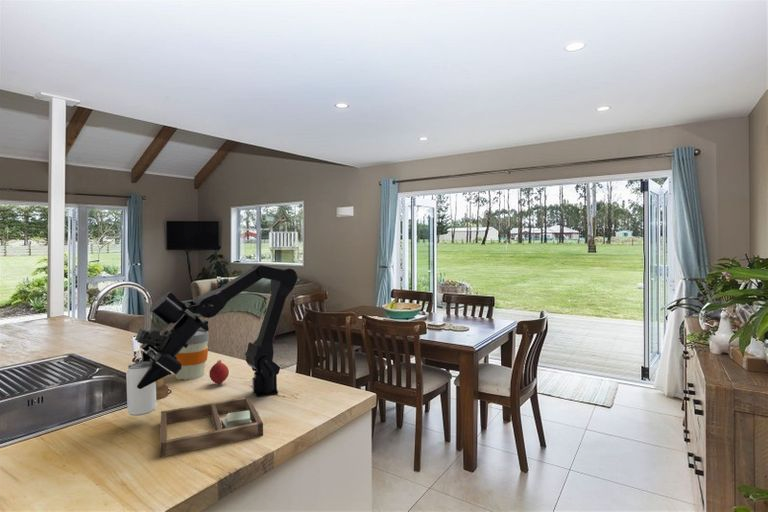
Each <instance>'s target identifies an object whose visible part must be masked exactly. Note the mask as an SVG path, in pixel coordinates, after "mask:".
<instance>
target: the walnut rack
mask: <svg viewBox="0 0 768 512" xmlns="http://www.w3.org/2000/svg"><path fill="white" fill-rule="evenodd" d="M248 410H250V420H251V421H252V423H250V424H245V425H240V426H235V427H230V428H225V429H222V425H221V419H220V416H219V415H222V414H228V413H233V412H241V411H248ZM207 417H211V420H212V424H213V427H214V430H210V431H206V432H205V431H204V432H201V433H196V434H190V435H185V436H180V437H175V438H170V439H169V438H168V435H167V434H168V433H167V431H168V429H167V428H168V427H167V425H168V424H172V423H179V422H183V421H188V420H189V421H190V420H195V419H202V418H207ZM262 420H263V419H261V417H260V414H259V413H258V411H257V409H256V406H255V405H254V403H253V401H252V399H251V397H250V396H246V397H241V398H240V397H238V398H233V399H228V400H221V401H217V402H210V403H204V404H198V405H192V406H186V407H181V408H175V409H168V410H162V411H160V438H159V441H160V442H159V443H160V444H159V447H160V448H159V449H160V451H159V453H160V457H161V458H162V457H167V456H172V455H176V454H180V453H185V452H190V451H191V452H192V451H195V450H201V449H205V448H209V447H214V446H219V445H224V444H229V443H233V442H238V441H241V440H242V441H243V440H248V439H252V438H256V437H261V436H263V435H264V423H263V421H262Z"/></svg>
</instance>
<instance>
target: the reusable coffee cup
mask: <svg viewBox="0 0 768 512" xmlns="http://www.w3.org/2000/svg"><path fill="white" fill-rule="evenodd" d="M209 340H210V337H209V330H208V331H205V330H203V329H202V328H200V329H199V330H198V331H197V332H196V334H195V335H194V336H193V337H192V338H191V339H190V340H189V342H188V343H187V345H188V347H187V348H184V347H183V348H182V350H181V351H180V352H179V353H178V354H177V355H176V356H175V357H176V358H177V359H176V360H177V361H179V362H180V363H181V367H182V369H181V370H180V371H179V372H178V373H177V374H174V375H175V378H176V379H177V380H180V379H184V380H183V381H186V380H187V379H190V380H195V379H198V377H199V378H201V377H203V376H204V375H205V370H206V362H207V360H208V354H209V346H208V342H209ZM194 378H195V379H194Z"/></svg>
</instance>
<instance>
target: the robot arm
mask: <svg viewBox="0 0 768 512" xmlns="http://www.w3.org/2000/svg"><path fill="white" fill-rule="evenodd" d="M298 277H299V276H298V274H297V272H296V271H295V269H293V268H288V267H280V266H279V267H277V268H275V267H272V266H271V267H270V266H267V265H265V264H261V263H259V264H258V263H256V264H254V265H252V267H251V268H250V269H248V270H246V271H245V272H243V273H241V274H239V276H237V277H235V278H234V279H232V280H231V281H229V282H227V283H226V284H224V285H223V286H221V287H219V288H217V289H213V290H210V291H207V292H204V293H202V294H200V295H198V296H196V297H194V299H193V300H190V301H189V300H188V301H185V302H183V301H181V300H180V299H179V298H178V297H177V296H176V295H175V294H174V293H173V292H171V291H168V292H166V294H164V295H162V296H161V297H160V298H159V299H156V300H155V301H154V303H152V305H151V306H150V307H149V313H151V314H153V315H154V316H155V317H156V318H158V319H159V320H160V321H162V322H163V323H165V324H166V325H169V324H174V325H173V326H172V327H171V328H170V329H169V330H168V329H166V330H163V332H162V333H161V332H160V331H159V330H156V329H153V328H152V329H151V330H150V329H146V328H142V327H140V328H139V329H138V332H137V334H136V336H135V339H134V340H135V341H137V343H139V344H141V345H140V348H141V349H142V350H140V354H141V355H140V356H141V361H140V362H150V368H149V369H148V371H147V372H146V374H145V375H144V376H143V378H142V379H141V381H140V382H139V384H138V385H137V388H139V389H142V388H144V387H146V386H148V385H149V384H151V383H153V382H155V381H157V380H159V379H161V378H163V379H164V378H165V377H167V376H171V375H172V374H174V375H175V374H177V373H178V372H179V371H180V370H181V369H182V367H181V363H180V362H179V361H177V360H176V359H177V358H176V357H175V356H176V355H177V354H178V353H179V352H180V351H181V350H182V348H183V347H184V348H187V347H188V345H187V343H188V342H189V340H190V339H191V338H192V337H193V336H194V335H195V334H196V332H197V331H198V330H199V329H203V330H205V331H208V332H209V321H208V320H206V319H210V318H213V317H215V316H217V314H219V313H220V312H221V311H222V310H223V309H224V308H225V307H226V305H227V304H228V303H229V302H230V301H231V299H234V298H235V297H236V296H238V295H239V294H241V293H242V292H244V291H245V290H247V289H248V288H250V287H251V286H253V285H254V284H256V283H257V282H259V281H260V280H262V279H266V280H269V281H270V284H269V285H270V291H271V294H270V296H269V300H268V302H267V303H268V304H267V306H266V307H267V308H266V309H265V313H264V316H263V319H262V323H261V326H260V329H259V332H258V335H257V338H256V340H255V341H254V342H251V341H249V342H248V345H247V350H246V351H245V353H244V356H245V362H246V363H247V365H248V366H249V367H250V368H251V370H252V371H253V372H254V373H253V377H252V379H251V381H252V383H251V384H252V385H251V386H252V393H253V394H255V397H257V398H258V397H264V396H269V395H270V396H271V395H276V394H279V390H278V386H277V385H278V384H277V383H278V382H277V381H278V380H277V379H278V378H277V375H278V374H279V373H280V370H281V367H280V366H279V365H278V364H277V363H276V362H274V361H273V359H274V354H275V353H274V351H275V350H274V339H275V335H276V333H277V329H278V326H279V323H280V318H281V316H282V313H283V309H284V306H285V303H286V300H287V297H288V296H289V295H290V294H291V293H292V292H293V290H294V289H295V286H296V283H298ZM186 311H187V312H189V313H191V314H193V315H190V314H189V313H187V312H186ZM197 315H199V316H200V317H203V318H205V319H201V318H200V317H199V316H197Z"/></svg>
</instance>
